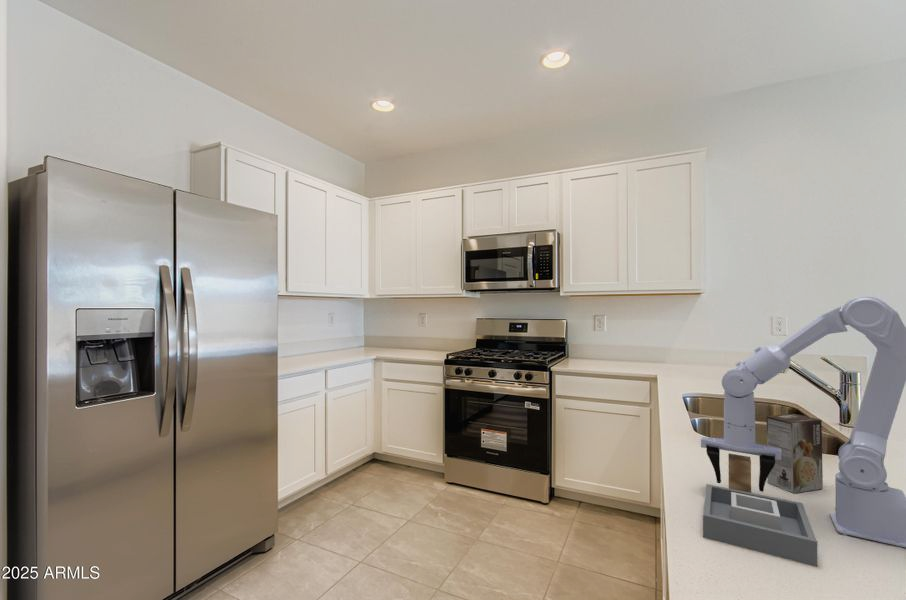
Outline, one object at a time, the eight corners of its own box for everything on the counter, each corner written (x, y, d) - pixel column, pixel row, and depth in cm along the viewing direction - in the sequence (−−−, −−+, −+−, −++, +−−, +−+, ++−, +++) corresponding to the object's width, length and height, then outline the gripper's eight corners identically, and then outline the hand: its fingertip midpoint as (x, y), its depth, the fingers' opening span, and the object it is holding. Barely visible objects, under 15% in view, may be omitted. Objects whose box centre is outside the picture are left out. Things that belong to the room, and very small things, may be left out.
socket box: (802, 523, 82) (802, 497, 82) (817, 566, 69) (817, 535, 69) (706, 502, 91) (706, 479, 91) (703, 537, 78) (703, 509, 78)
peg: (750, 497, 93) (750, 456, 93) (751, 504, 90) (751, 462, 90) (728, 493, 95) (728, 453, 96) (728, 500, 92) (728, 458, 92)
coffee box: (794, 478, 104) (794, 412, 104) (823, 489, 97) (823, 419, 98) (766, 482, 101) (765, 415, 101) (793, 494, 95) (793, 422, 95)
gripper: (778, 424, 92) (779, 486, 92) (701, 414, 100) (702, 472, 100) (782, 432, 86) (782, 499, 86) (700, 421, 94) (700, 482, 94)
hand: (739, 485), depth 93 cm, fingers open, 7 cm apart
